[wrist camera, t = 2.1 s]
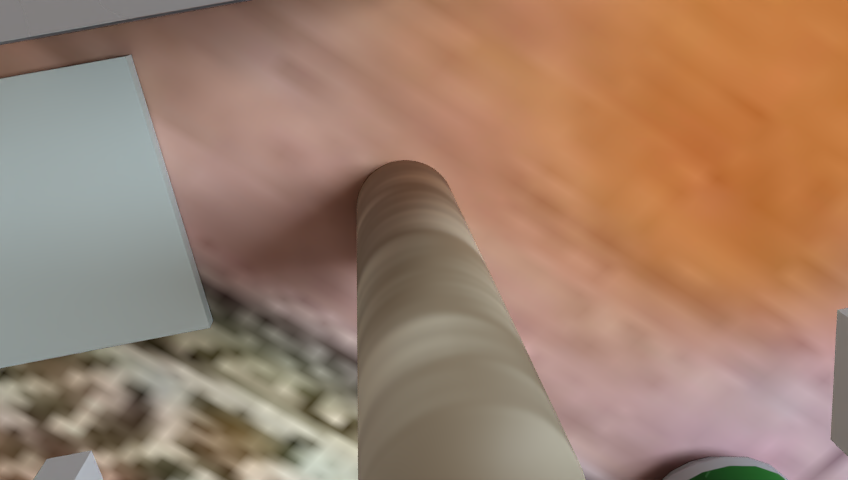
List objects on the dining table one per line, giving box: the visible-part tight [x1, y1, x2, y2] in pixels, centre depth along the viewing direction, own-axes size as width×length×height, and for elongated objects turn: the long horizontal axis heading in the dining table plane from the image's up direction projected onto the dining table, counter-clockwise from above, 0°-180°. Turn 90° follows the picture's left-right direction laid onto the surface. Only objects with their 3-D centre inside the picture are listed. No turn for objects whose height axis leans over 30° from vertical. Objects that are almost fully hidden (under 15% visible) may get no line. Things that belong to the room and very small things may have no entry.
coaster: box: [0, 55, 213, 368], centre depth 24 cm, size 10×10×1 cm
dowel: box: [357, 160, 586, 480], centre depth 18 cm, size 4×4×16 cm
